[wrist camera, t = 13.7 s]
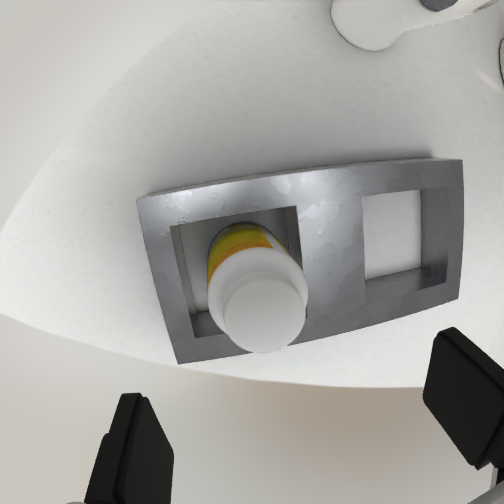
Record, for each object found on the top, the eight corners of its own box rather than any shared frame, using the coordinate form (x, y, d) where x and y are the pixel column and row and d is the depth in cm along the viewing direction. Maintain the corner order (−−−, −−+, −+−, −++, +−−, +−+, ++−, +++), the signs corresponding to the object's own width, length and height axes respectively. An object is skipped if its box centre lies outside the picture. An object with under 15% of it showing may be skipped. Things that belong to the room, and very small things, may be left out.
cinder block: (148, 193, 23) (135, 200, 19) (433, 157, 24) (462, 159, 20) (181, 336, 26) (178, 364, 22) (433, 283, 28) (458, 298, 24)
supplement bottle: (194, 269, 25) (185, 338, 15) (232, 206, 24) (246, 240, 14) (255, 302, 26) (280, 380, 16) (294, 244, 25) (344, 297, 15)
